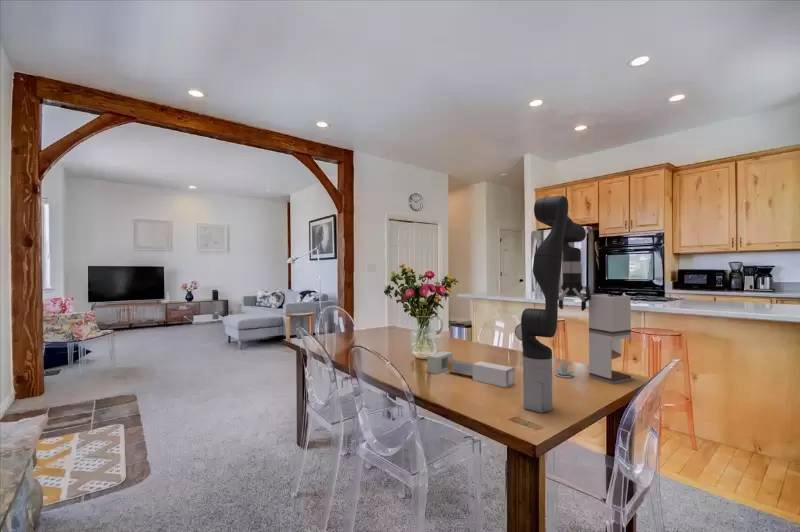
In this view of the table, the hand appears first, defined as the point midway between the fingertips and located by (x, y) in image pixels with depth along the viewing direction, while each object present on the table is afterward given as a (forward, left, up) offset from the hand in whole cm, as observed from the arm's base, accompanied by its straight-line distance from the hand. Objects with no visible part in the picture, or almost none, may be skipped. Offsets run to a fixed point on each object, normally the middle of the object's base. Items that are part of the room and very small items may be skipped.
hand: (572, 309), depth 157 cm
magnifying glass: (+4, +23, -29) cm, 37 cm away
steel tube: (-29, +31, -27) cm, 50 cm away
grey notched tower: (+6, -13, -29) cm, 32 cm away
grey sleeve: (-29, +23, -29) cm, 47 cm away
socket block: (-29, +49, -29) cm, 64 cm away
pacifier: (-2, +3, -29) cm, 29 cm away
